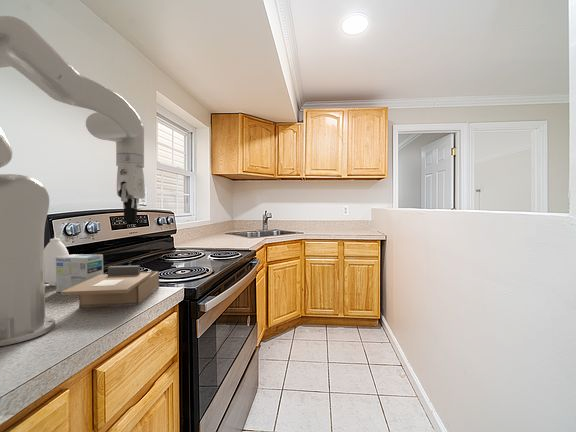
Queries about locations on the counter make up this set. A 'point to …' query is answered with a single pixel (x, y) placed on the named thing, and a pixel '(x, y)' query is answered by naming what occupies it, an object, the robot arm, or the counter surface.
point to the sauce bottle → (53, 258)
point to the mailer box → (122, 295)
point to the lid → (110, 281)
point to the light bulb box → (76, 269)
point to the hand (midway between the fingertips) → (130, 221)
